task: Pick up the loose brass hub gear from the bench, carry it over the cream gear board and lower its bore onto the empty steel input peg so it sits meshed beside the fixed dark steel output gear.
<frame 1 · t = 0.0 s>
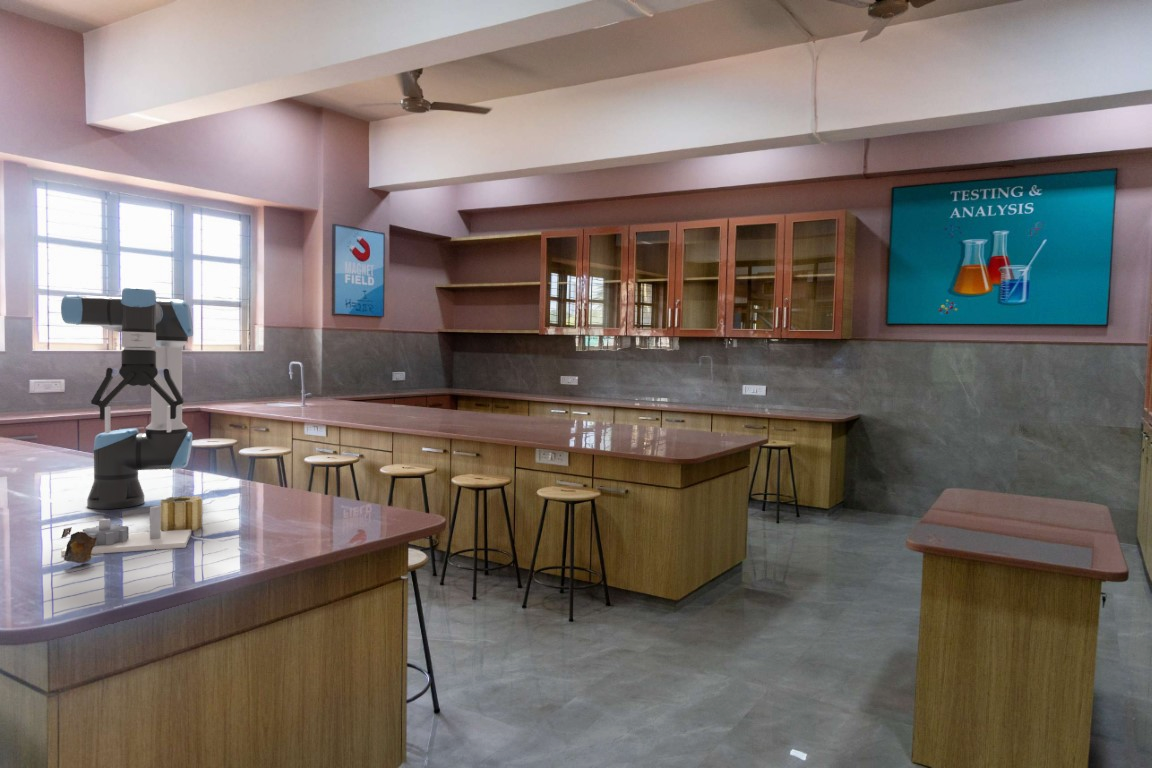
hand: (138, 432, 186), 28 cm above the table, fingers open, 13 cm apart
gear board: (130, 544, 184), on the table
brass gear: (181, 528, 201), on the table
rock: (74, 568, 164), on the table
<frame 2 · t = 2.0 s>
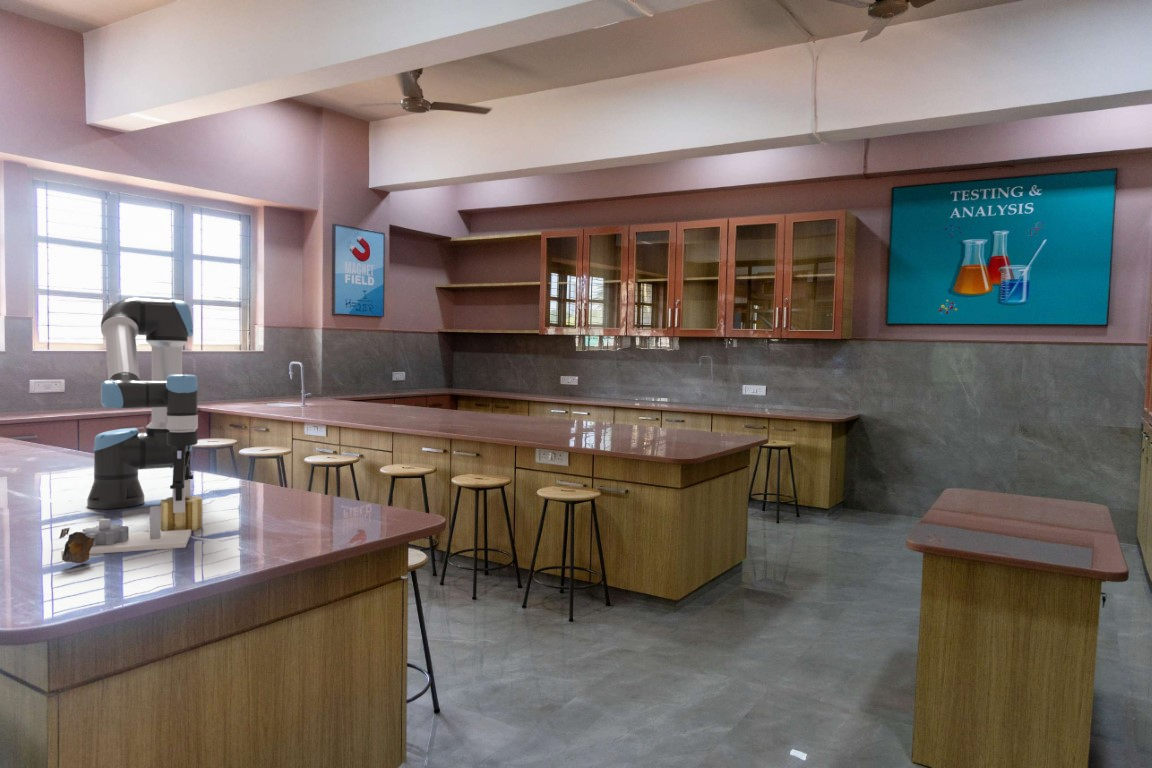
hand: (182, 507, 200), 6 cm above the table, fingers open, 13 cm apart
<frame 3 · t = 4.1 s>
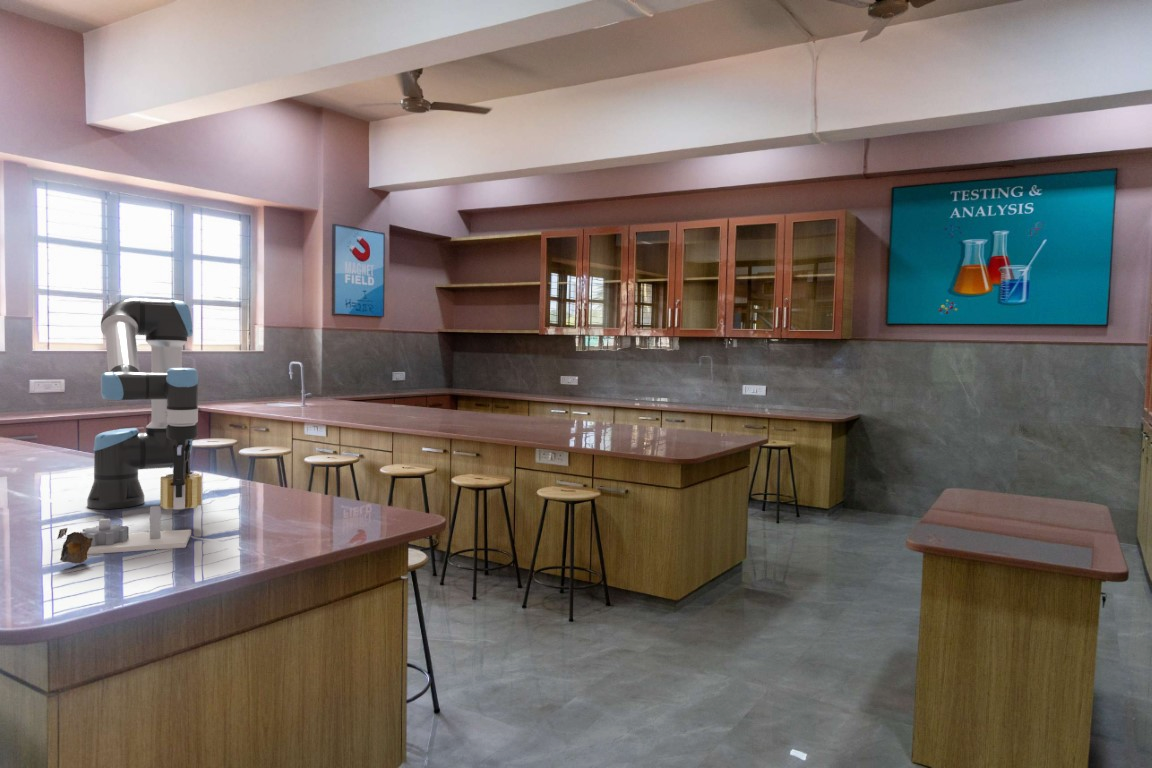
hand: (181, 504, 201), 7 cm above the table, fingers closed on brass gear, 10 cm apart
brass gear: (181, 505, 201), point 6 cm above the table, touching gripper
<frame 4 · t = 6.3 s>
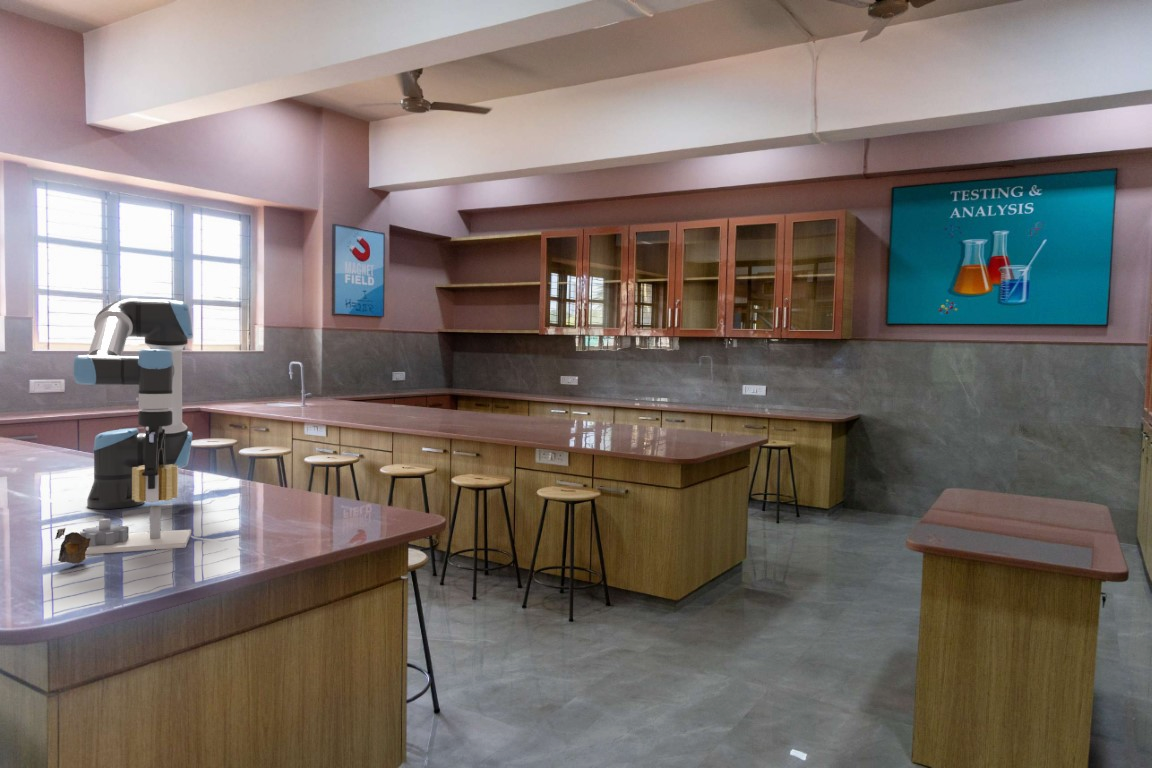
hand: (155, 497, 185), 12 cm above the table, fingers closed on brass gear, 10 cm apart
brass gear: (155, 498, 185), point 11 cm above the table, touching gripper
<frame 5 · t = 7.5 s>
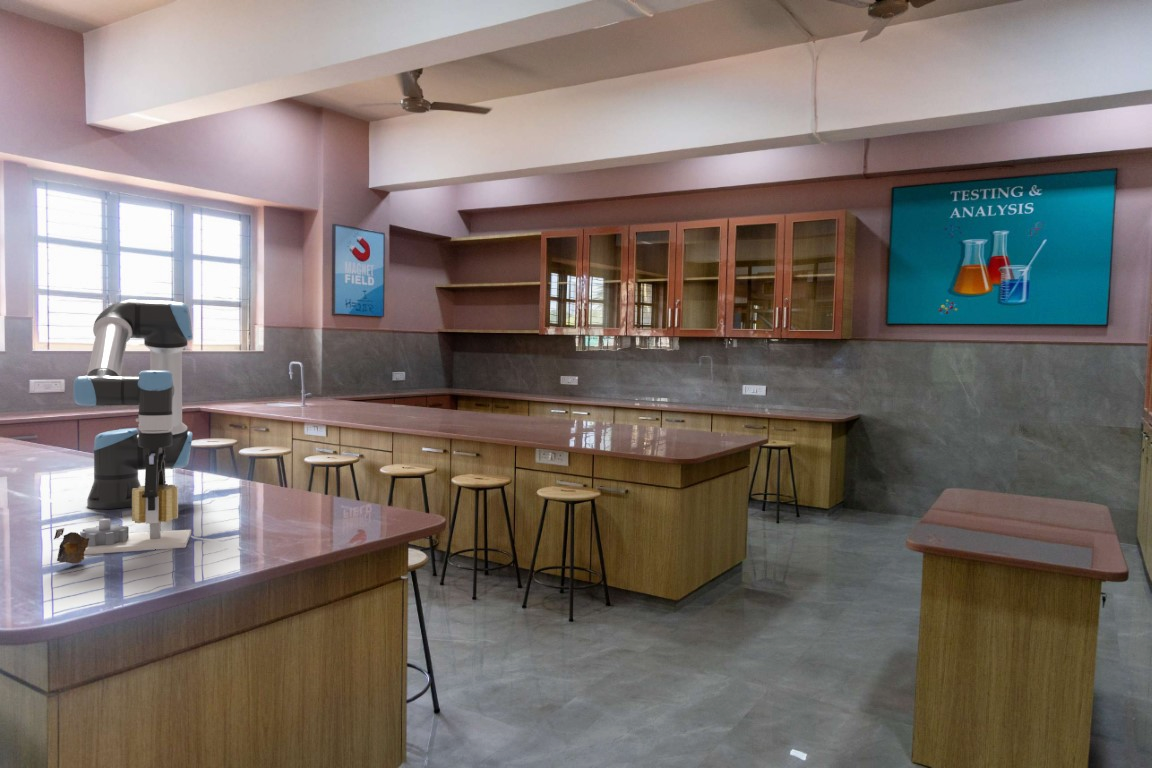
hand: (155, 518, 185), 6 cm above the table, fingers closed on brass gear, 10 cm apart
brass gear: (155, 519, 185), point 6 cm above the table, touching gripper
when the fingers open (3 cm above the table, at t = 8.7 s): brass gear drops 2 cm, resting on gear board.
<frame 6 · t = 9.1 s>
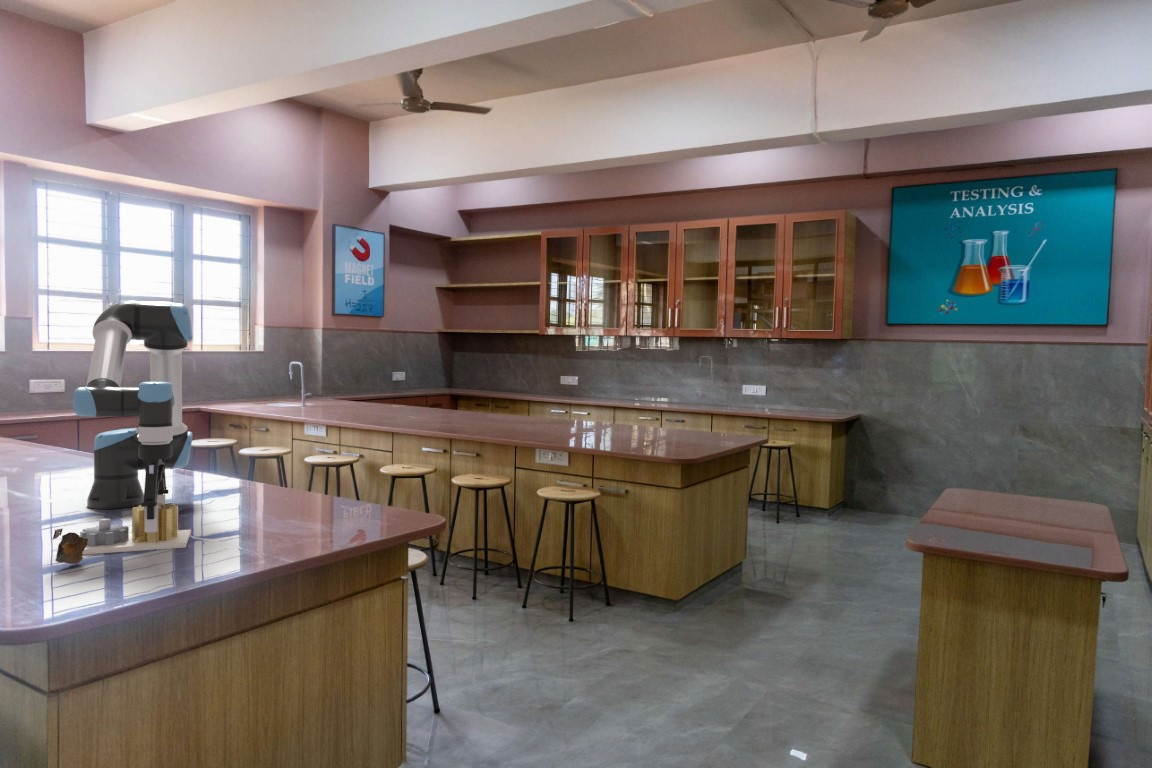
hand: (155, 525, 186), 4 cm above the table, fingers open, 13 cm apart
brass gear: (155, 537, 186), point 1 cm above the table, touching gear board
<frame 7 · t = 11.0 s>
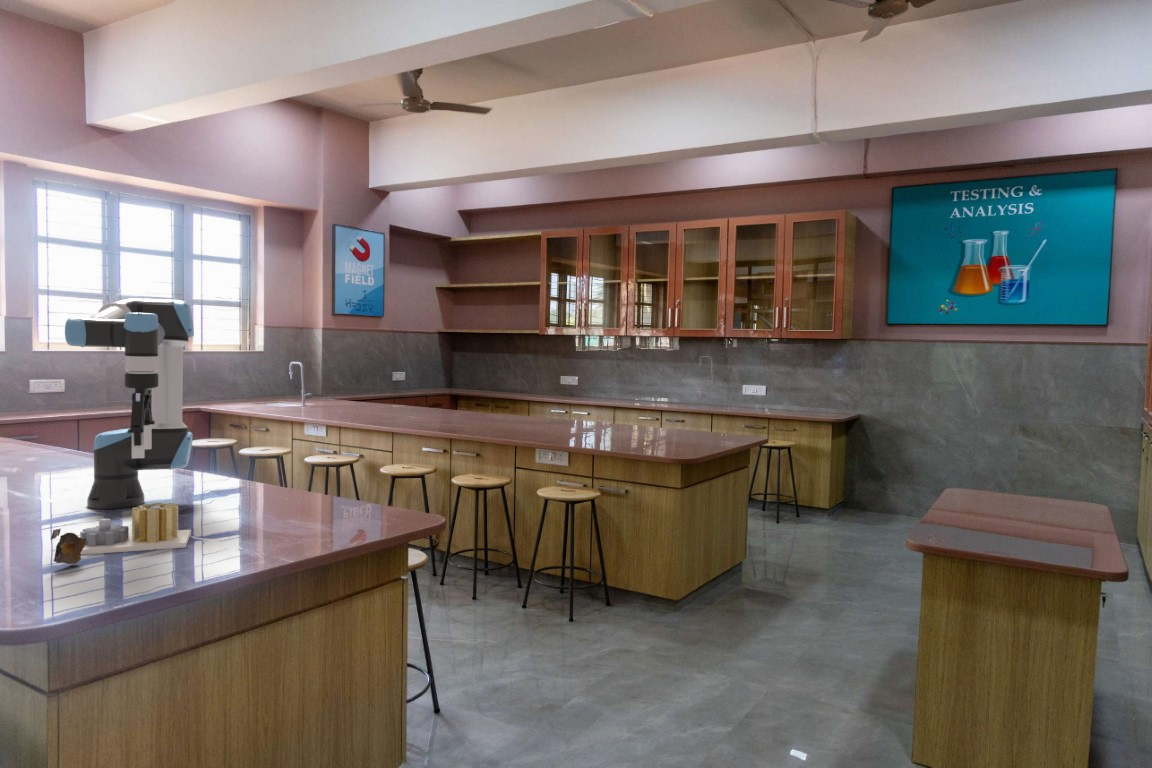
hand: (142, 453, 190), 22 cm above the table, fingers open, 13 cm apart
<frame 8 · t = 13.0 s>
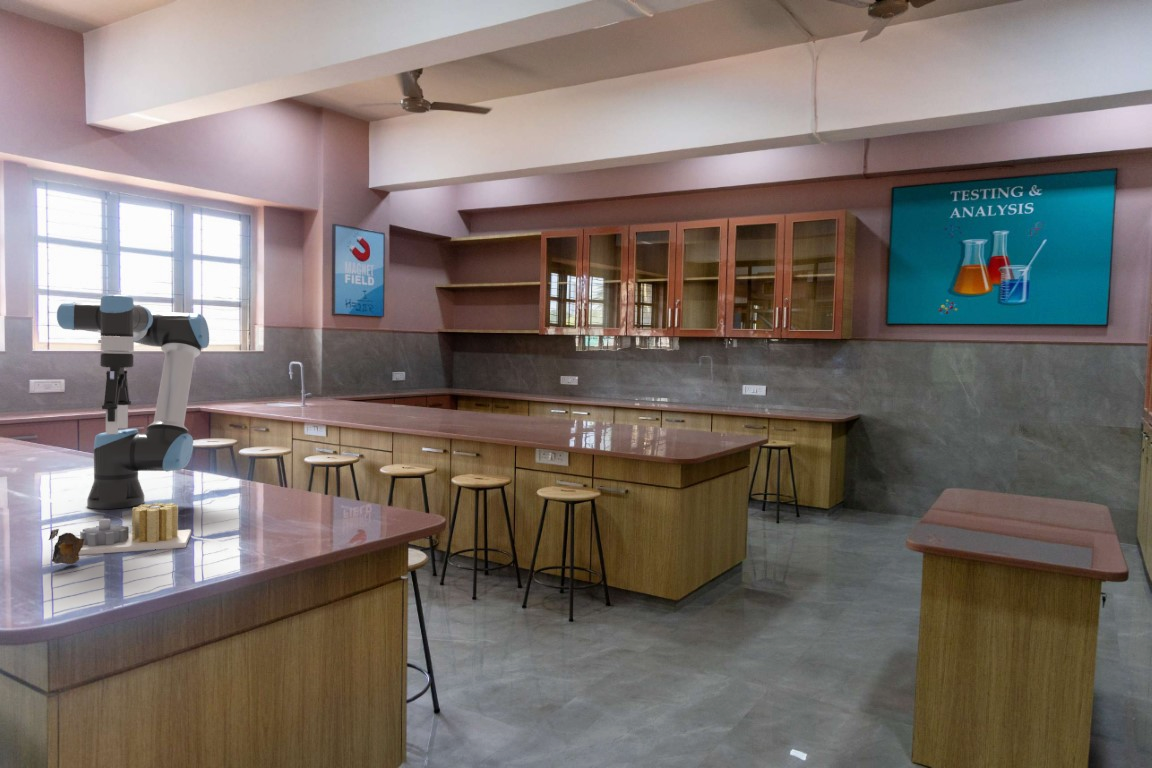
hand: (117, 431, 197), 27 cm above the table, fingers open, 13 cm apart
at the end: brass gear 0.1 cm from the target spot on the gear board, point 1.2 cm above the gear board's base; brass gear tilted 0°; the gripper is holding nothing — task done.
